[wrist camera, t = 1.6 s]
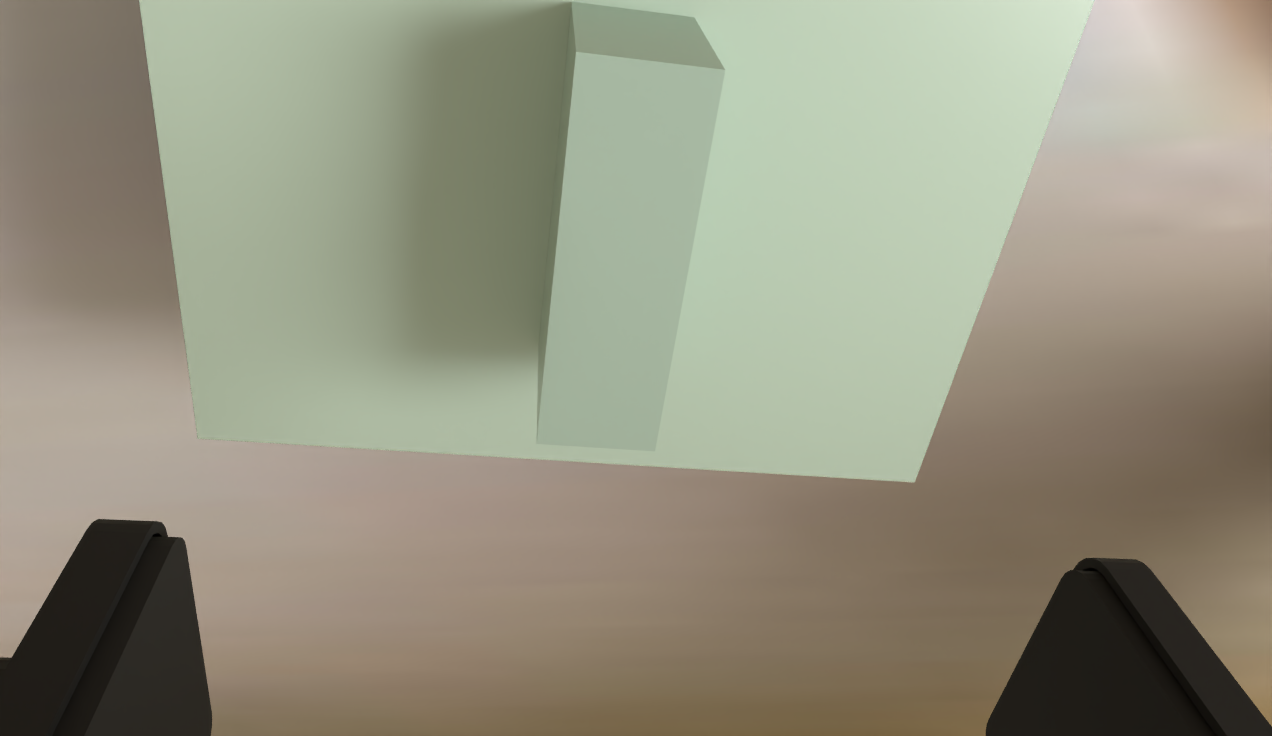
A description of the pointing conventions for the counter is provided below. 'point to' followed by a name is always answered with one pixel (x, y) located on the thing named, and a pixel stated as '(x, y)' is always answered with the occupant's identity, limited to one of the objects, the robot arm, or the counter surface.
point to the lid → (595, 219)
